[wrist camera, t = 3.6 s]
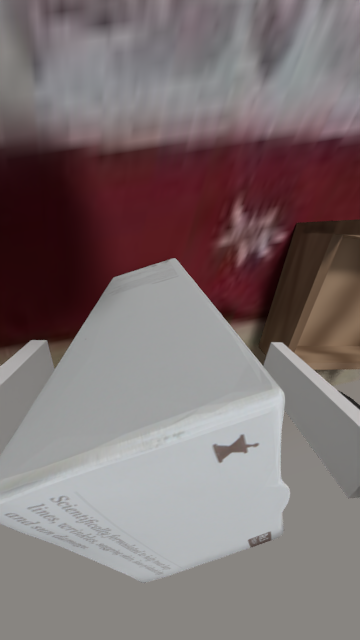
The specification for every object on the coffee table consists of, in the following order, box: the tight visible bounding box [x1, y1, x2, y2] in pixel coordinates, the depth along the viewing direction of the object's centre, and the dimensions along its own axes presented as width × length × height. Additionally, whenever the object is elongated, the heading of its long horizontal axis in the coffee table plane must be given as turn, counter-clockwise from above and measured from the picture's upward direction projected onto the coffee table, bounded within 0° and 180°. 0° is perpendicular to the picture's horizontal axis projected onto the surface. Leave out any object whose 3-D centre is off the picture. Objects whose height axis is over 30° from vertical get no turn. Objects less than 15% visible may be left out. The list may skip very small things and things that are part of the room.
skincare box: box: [0, 258, 290, 583], centre depth 11 cm, size 8×6×15 cm
